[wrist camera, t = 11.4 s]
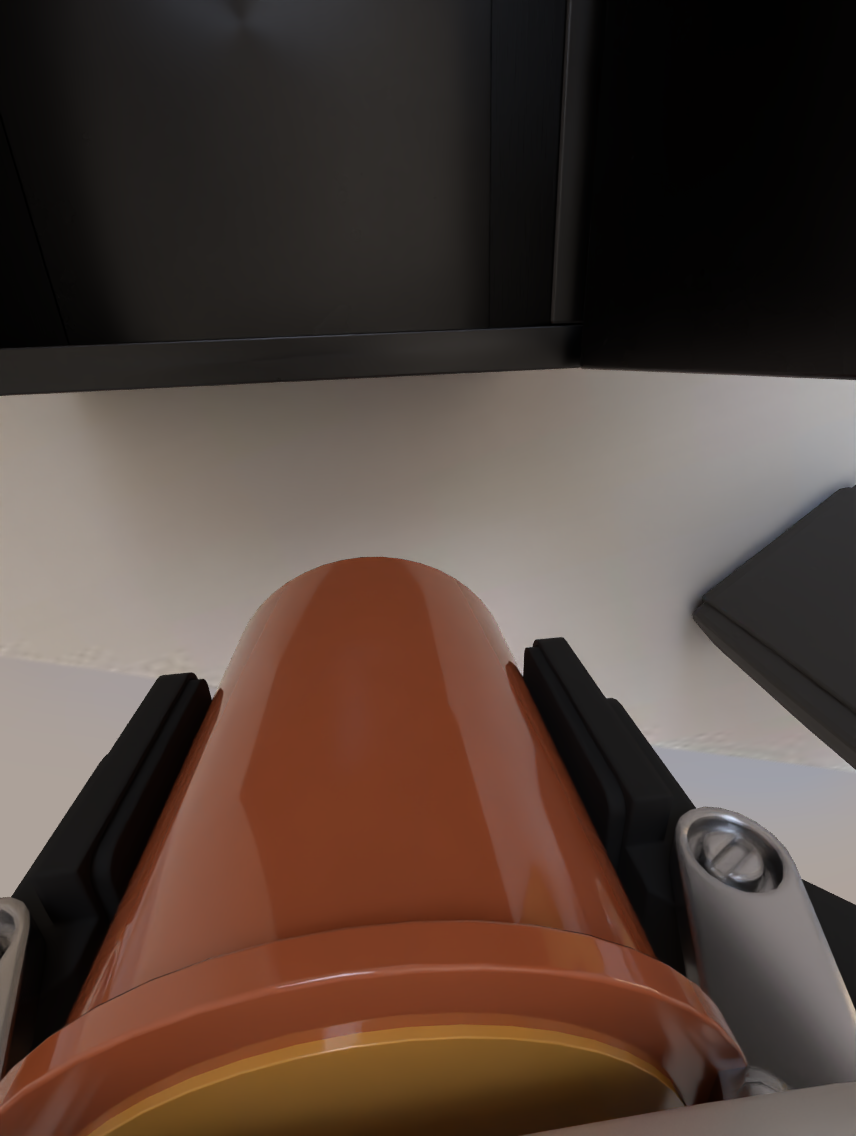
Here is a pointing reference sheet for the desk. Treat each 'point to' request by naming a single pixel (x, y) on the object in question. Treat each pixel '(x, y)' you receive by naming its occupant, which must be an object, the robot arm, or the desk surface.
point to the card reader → (798, 621)
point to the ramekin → (371, 906)
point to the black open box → (293, 189)
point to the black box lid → (725, 190)
